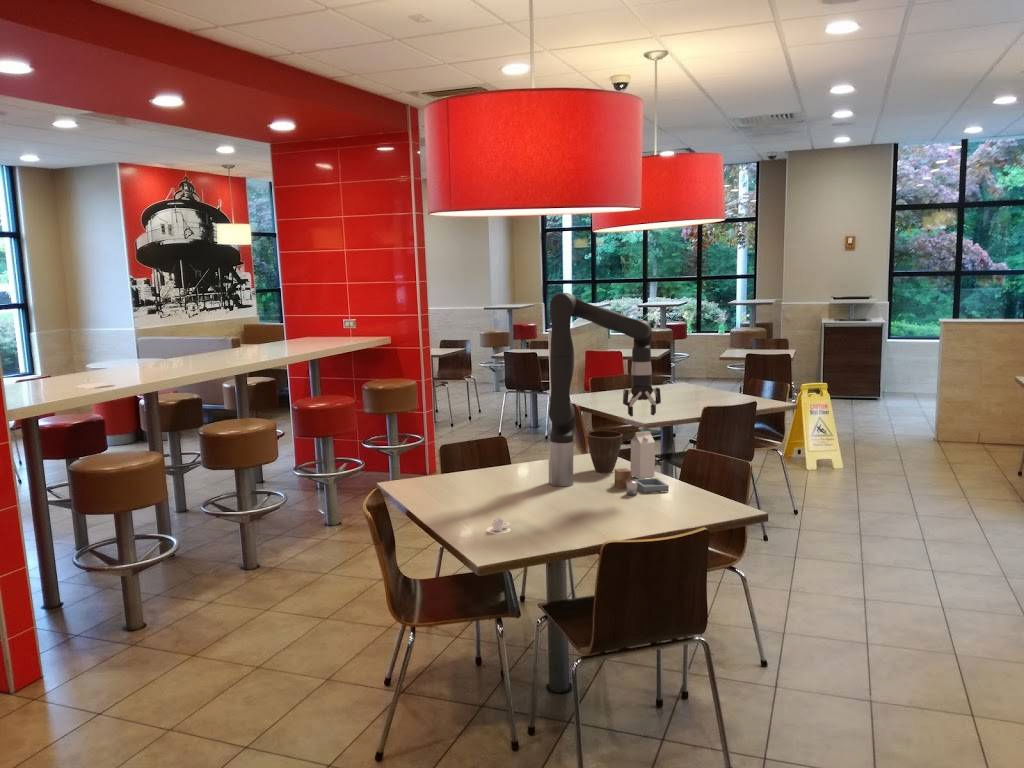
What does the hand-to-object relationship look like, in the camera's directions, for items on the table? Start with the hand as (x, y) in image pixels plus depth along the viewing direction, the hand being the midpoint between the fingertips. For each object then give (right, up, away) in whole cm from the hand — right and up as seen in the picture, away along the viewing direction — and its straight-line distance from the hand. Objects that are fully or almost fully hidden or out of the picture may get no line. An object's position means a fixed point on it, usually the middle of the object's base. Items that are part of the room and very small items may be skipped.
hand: (642, 415), depth 314 cm
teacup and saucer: (-51, -36, -47) cm, 78 cm away
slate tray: (+4, -29, +5) cm, 29 cm away
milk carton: (+4, -26, +23) cm, 35 cm away
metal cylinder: (-4, -30, -3) cm, 30 cm away
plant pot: (-11, -25, +35) cm, 44 cm away
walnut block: (-6, -28, +7) cm, 30 cm away
